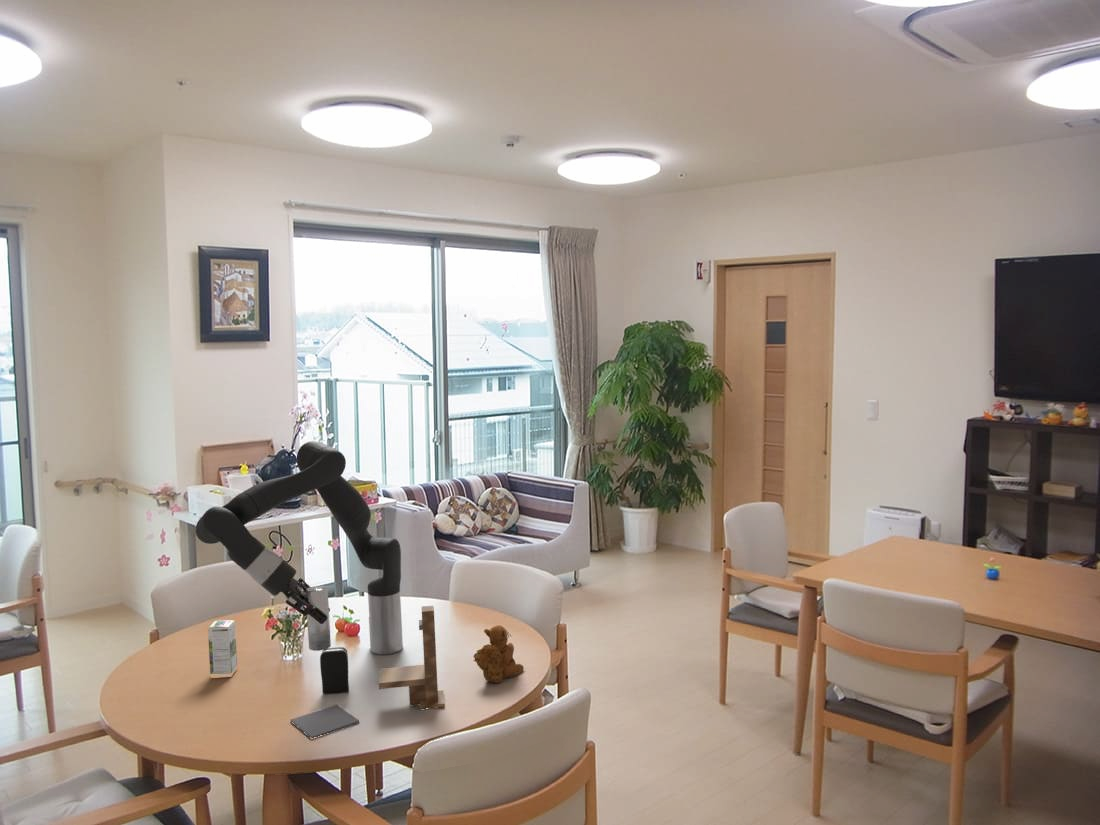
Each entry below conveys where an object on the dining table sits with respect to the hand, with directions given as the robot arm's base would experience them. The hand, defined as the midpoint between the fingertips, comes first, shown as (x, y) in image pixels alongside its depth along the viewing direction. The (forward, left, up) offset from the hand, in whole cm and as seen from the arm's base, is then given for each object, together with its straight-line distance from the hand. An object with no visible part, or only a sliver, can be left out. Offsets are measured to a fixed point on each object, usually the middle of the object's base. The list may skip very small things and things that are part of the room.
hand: (326, 616), depth 200 cm
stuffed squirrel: (+6, +45, -26) cm, 52 cm away
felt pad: (-1, -1, -26) cm, 26 cm away
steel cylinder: (-1, -2, -7) cm, 7 cm away
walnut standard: (+5, +19, -26) cm, 33 cm away
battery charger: (-16, +9, -26) cm, 32 cm away
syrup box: (-48, -9, -26) cm, 55 cm away
